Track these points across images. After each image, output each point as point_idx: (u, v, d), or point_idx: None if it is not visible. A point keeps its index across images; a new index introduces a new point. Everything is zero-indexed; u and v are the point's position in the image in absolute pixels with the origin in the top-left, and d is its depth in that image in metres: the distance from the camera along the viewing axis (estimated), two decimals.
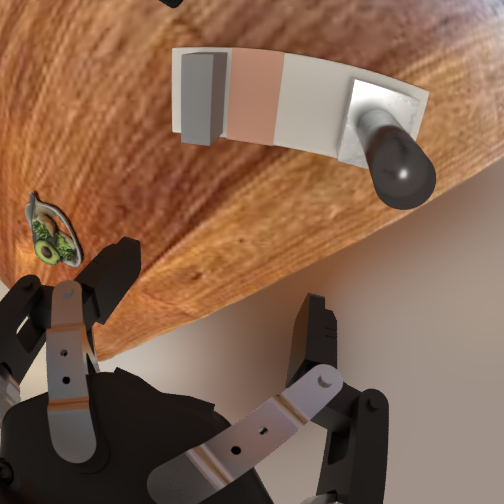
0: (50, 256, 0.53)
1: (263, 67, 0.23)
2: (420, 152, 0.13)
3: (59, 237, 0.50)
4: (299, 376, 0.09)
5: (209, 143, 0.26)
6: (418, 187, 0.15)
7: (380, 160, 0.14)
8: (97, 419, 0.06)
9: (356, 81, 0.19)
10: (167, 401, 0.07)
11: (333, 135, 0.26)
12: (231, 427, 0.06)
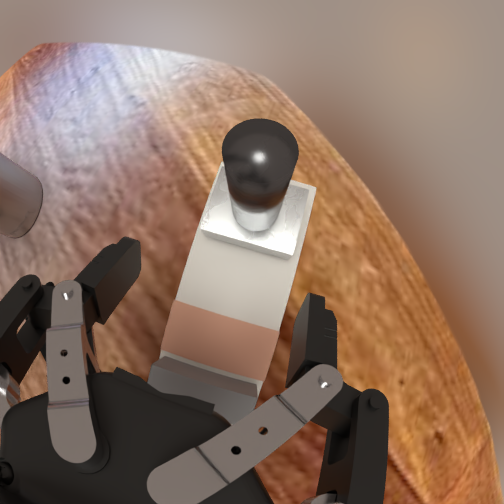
0: None
1: (187, 324, 0.26)
2: (226, 136, 0.15)
3: None
4: (299, 377, 0.09)
5: (255, 397, 0.21)
6: (267, 135, 0.14)
7: (236, 176, 0.14)
8: (97, 419, 0.06)
9: (201, 227, 0.24)
10: (167, 401, 0.07)
11: (271, 262, 0.27)
12: (231, 427, 0.06)
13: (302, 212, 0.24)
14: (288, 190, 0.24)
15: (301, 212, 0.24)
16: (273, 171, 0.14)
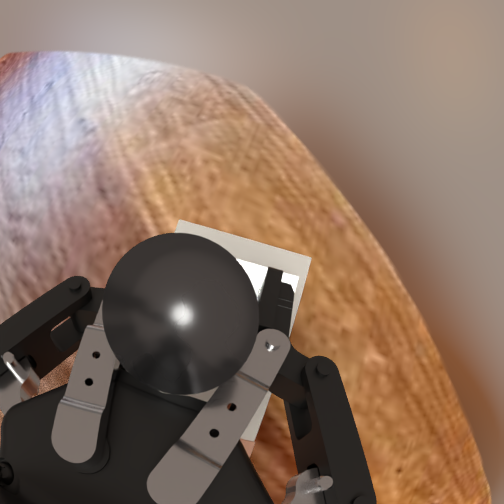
0: None
1: None
2: (112, 278, 0.07)
3: None
4: None
5: None
6: (191, 279, 0.07)
7: (132, 372, 0.06)
8: None
9: None
10: (167, 402, 0.07)
11: None
12: (231, 427, 0.06)
13: None
14: None
15: None
16: (201, 371, 0.06)
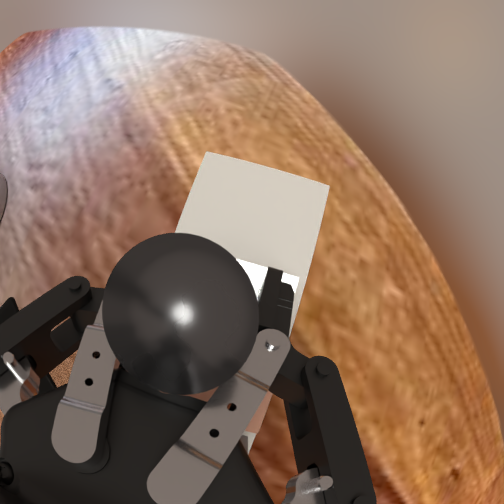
0: None
1: None
2: (112, 277, 0.07)
3: None
4: None
5: None
6: (191, 279, 0.07)
7: (132, 371, 0.06)
8: None
9: None
10: (167, 401, 0.07)
11: None
12: (231, 427, 0.06)
13: None
14: None
15: None
16: (200, 372, 0.06)
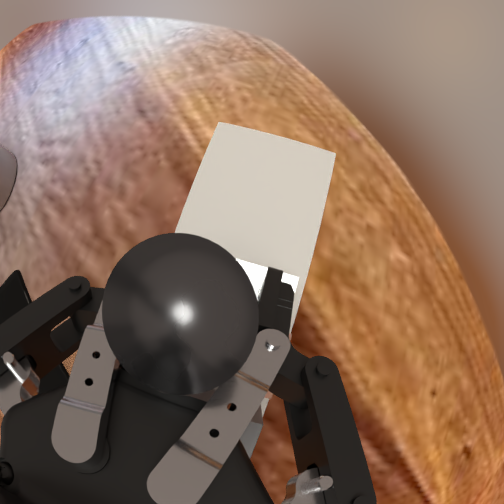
0: None
1: None
2: (112, 278, 0.07)
3: None
4: None
5: (259, 424, 0.15)
6: (191, 280, 0.07)
7: (132, 372, 0.06)
8: None
9: None
10: (167, 401, 0.07)
11: (281, 243, 0.20)
12: (231, 427, 0.06)
13: None
14: None
15: None
16: (200, 372, 0.06)
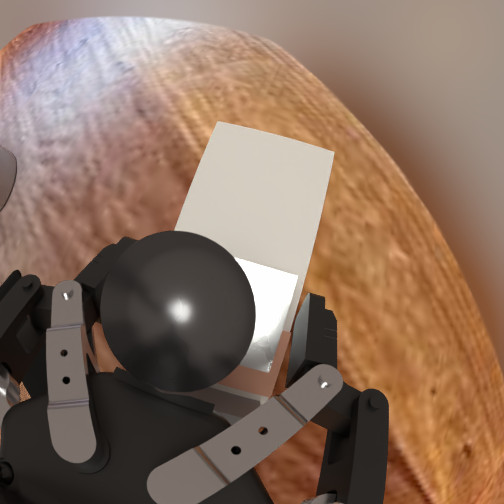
0: None
1: None
2: (110, 276, 0.07)
3: None
4: (299, 377, 0.09)
5: None
6: (189, 277, 0.07)
7: (130, 369, 0.06)
8: (97, 419, 0.06)
9: None
10: (167, 401, 0.07)
11: (280, 242, 0.20)
12: (231, 427, 0.06)
13: (285, 312, 0.16)
14: (266, 278, 0.17)
15: (284, 312, 0.16)
16: (198, 369, 0.06)
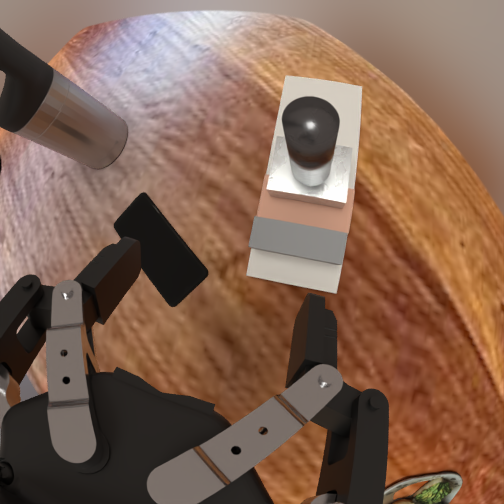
0: None
1: None
2: None
3: (419, 496, 0.25)
4: (299, 376, 0.09)
5: (345, 233, 0.26)
6: (314, 108, 0.18)
7: (296, 142, 0.18)
8: (97, 419, 0.06)
9: (267, 188, 0.28)
10: (167, 401, 0.07)
11: (339, 138, 0.30)
12: (231, 427, 0.06)
13: (349, 167, 0.27)
14: (335, 150, 0.27)
15: (348, 167, 0.27)
16: (323, 135, 0.18)
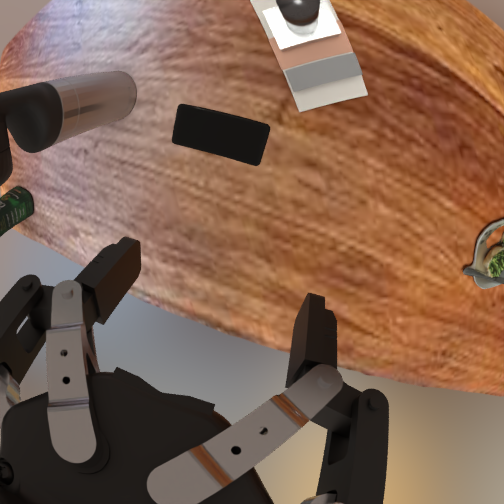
0: None
1: None
2: (276, 2, 0.18)
3: None
4: (299, 377, 0.09)
5: (353, 53, 0.26)
6: None
7: (298, 16, 0.19)
8: (97, 419, 0.06)
9: (280, 48, 0.28)
10: (167, 401, 0.07)
11: None
12: (231, 427, 0.06)
13: (328, 8, 0.24)
14: None
15: (328, 8, 0.24)
16: (312, 5, 0.17)
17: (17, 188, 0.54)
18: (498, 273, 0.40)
